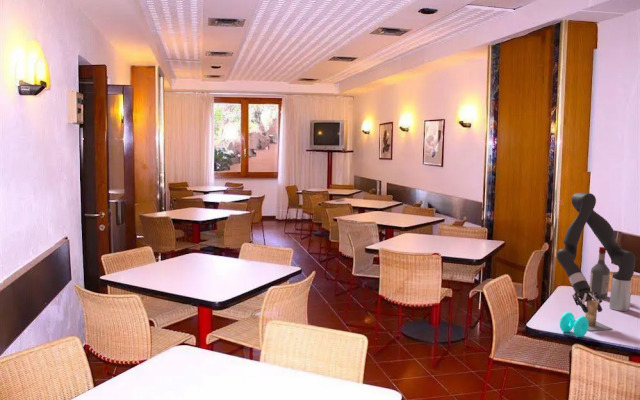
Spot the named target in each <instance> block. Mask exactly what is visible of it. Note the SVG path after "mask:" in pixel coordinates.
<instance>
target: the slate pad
mask: <svg viewBox="0 0 640 400" xmlns="http://www.w3.org/2000/svg"><path fill="white" fill-rule="evenodd" d="M575 321H576V319H575ZM612 330H613V328H612V327H609V326H608V325H606V324H603V323H601V322H600V321H599V322H598V321H596V325H595V326H588V330H587V332H595V331H599V332H600V331H612Z"/></svg>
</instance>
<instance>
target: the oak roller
mask: <svg viewBox="0 0 640 400" xmlns="http://www.w3.org/2000/svg"><path fill="white" fill-rule="evenodd" d="M585 305H586V307H587V309H588V312H587V313H584V314H585V315H584V317H586V318H587V319H588V323H589V326H595V325H596V322H597V316H598V314H597V313H598V310H597V308H598V302H597V301H594V300H593V299H592V300H587V302H586V304H585Z"/></svg>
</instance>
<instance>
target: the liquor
mask: <svg viewBox="0 0 640 400" xmlns="http://www.w3.org/2000/svg"><path fill="white" fill-rule="evenodd" d="M598 248H599V250H598V252H599V253H598V258H597V259H598V260H597V263H596V264H594V265H593V266H592V267H591V269H590V277H589V286H590V291H591V292H592V293H595V292H597V293H598V295H599V296H600V298H601V300H603V299H605V298H607V297H608V292H609V285H610V275H611V270H610V268H609V267H608V266H607V265H606V261H605V260H606V252H607V251H606V249H605V248H604V246H599V247H598Z"/></svg>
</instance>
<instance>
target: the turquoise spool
mask: <svg viewBox="0 0 640 400" xmlns="http://www.w3.org/2000/svg"><path fill="white" fill-rule="evenodd" d="M575 320H576V321H575ZM588 326H589V323H588V319H587V318H586V317H585V315H584V316H583V315H581V316H578V317H577V318H575V316H574V313H573V312H570V311H565V312H564V313H563V314H562V315H561V318H560V321H559V328H560V330H561V331H562V332H563V333H570V331H572V330H573V333H574V335H575V336H576V337H577V338H583V337H584V336H585V335H586V334H587V333H588V331H587V330H588Z"/></svg>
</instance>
